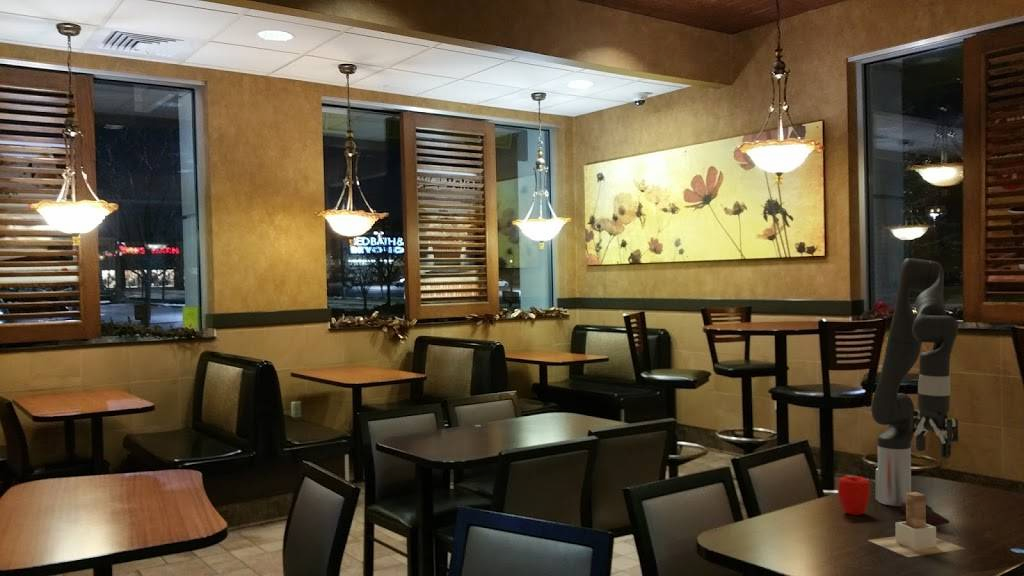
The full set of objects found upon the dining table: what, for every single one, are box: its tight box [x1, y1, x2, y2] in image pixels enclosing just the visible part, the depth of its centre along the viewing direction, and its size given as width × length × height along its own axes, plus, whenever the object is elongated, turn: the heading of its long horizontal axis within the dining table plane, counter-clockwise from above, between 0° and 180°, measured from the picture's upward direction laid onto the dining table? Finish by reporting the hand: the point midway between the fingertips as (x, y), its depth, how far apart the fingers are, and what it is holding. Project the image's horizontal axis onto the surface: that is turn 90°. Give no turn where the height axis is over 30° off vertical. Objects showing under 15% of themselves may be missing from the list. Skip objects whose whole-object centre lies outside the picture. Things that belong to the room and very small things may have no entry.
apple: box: [837, 475, 871, 516], centre depth 246 cm, size 9×9×11 cm
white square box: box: [894, 521, 937, 550], centre depth 215 cm, size 7×7×5 cm
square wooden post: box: [905, 491, 927, 529], centre depth 215 cm, size 3×3×12 cm
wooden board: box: [867, 536, 966, 558], centre depth 215 cm, size 14×18×1 cm
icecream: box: [899, 503, 951, 527], centre depth 231 cm, size 7×7×15 cm
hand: (932, 453), depth 220 cm, fingers open, 8 cm apart
